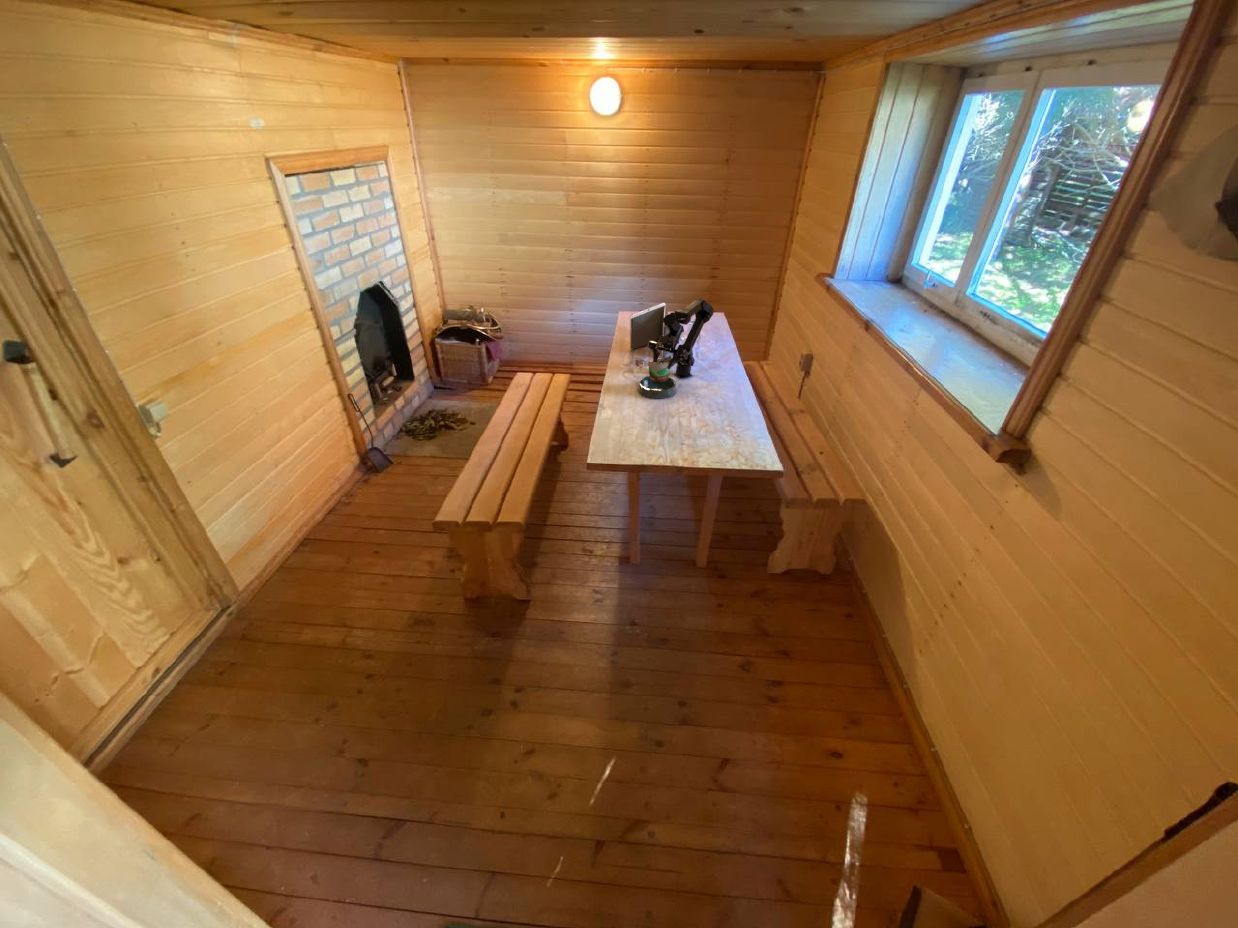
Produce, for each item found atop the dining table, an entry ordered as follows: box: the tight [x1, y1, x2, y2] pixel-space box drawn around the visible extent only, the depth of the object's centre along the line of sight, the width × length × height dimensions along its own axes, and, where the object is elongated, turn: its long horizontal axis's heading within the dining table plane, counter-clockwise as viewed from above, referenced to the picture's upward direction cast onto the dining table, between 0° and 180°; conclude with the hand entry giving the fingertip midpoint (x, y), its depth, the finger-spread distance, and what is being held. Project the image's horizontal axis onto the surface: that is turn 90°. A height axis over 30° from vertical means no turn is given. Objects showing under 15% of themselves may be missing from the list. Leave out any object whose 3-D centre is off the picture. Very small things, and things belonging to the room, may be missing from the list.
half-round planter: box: [647, 354, 672, 382], centre depth 233 cm, size 12×6×10 cm, turn 117°
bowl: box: [638, 375, 677, 399], centre depth 240 cm, size 17×17×4 cm
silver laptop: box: [629, 302, 669, 358], centre depth 282 cm, size 35×22×20 cm, turn 176°
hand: (660, 367), depth 231 cm, fingers closed on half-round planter, 7 cm apart
